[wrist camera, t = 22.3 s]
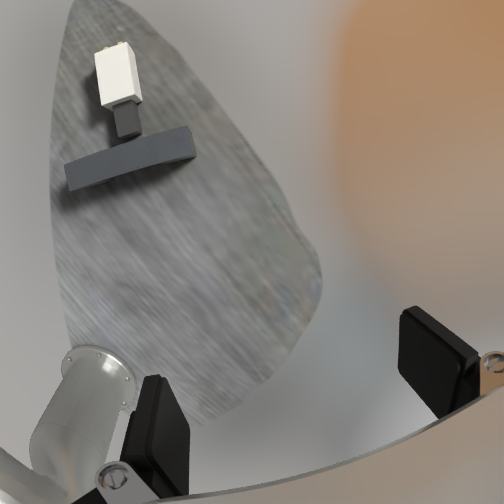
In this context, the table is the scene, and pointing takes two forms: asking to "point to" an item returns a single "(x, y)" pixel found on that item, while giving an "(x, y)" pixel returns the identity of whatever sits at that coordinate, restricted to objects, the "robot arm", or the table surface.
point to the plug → (120, 87)
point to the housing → (130, 158)
